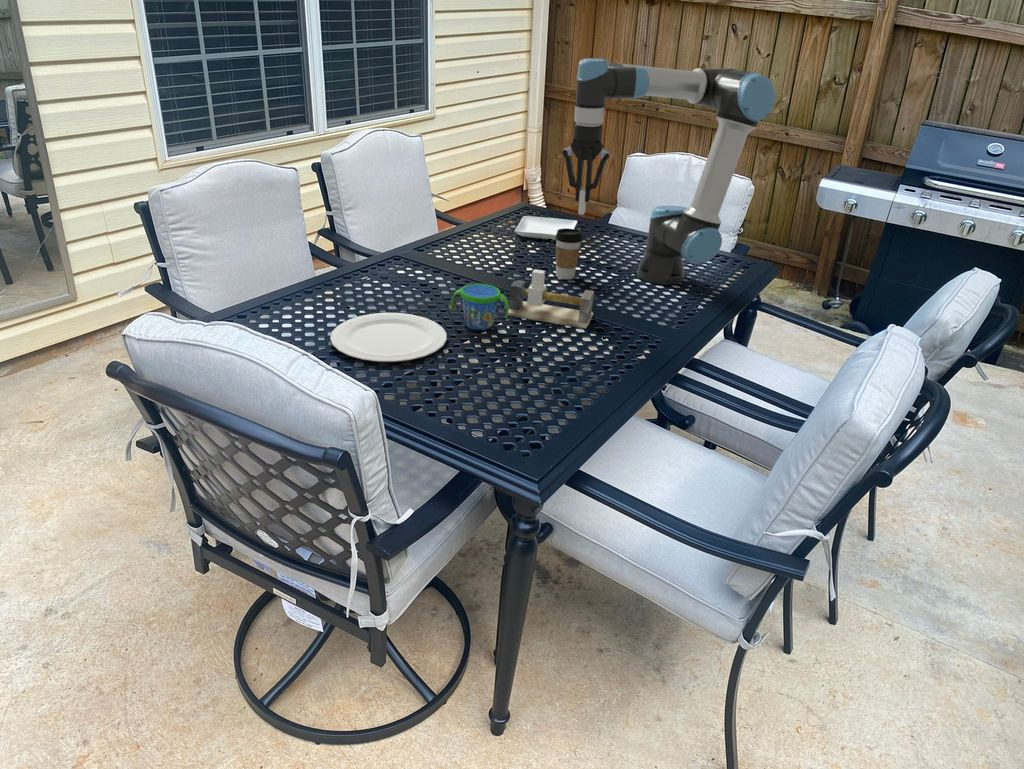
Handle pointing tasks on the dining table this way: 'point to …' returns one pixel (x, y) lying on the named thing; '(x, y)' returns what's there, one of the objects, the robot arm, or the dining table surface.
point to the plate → (388, 337)
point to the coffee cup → (567, 252)
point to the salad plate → (543, 227)
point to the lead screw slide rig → (551, 307)
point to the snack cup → (480, 305)
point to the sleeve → (536, 288)
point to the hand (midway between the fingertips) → (581, 212)
